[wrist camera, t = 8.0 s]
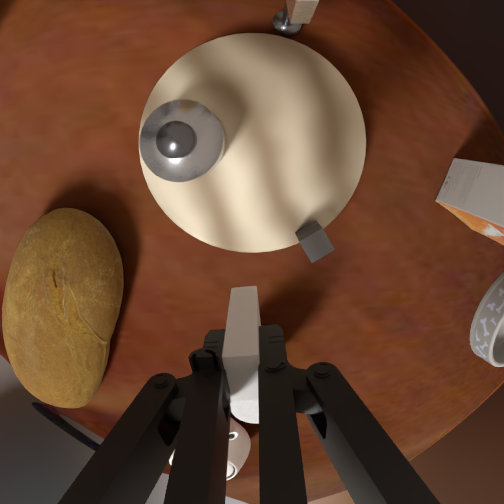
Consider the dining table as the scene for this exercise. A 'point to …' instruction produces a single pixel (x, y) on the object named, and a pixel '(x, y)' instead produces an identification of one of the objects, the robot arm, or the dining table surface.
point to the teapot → (235, 448)
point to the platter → (265, 144)
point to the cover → (182, 140)
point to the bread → (62, 306)
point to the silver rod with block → (294, 16)
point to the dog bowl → (490, 325)
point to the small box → (476, 196)
